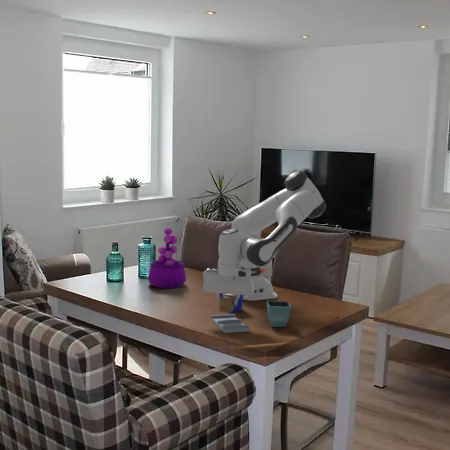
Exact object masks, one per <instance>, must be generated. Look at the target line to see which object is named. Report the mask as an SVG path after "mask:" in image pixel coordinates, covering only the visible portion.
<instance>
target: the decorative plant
mask: <svg viewBox="0 0 450 450" xmlns="http://www.w3.org/2000/svg"><path fill="white" fill-rule="evenodd" d="M163 233H164V234H165V236H164V237H163V241H164V242H165V246H159V247H158V249H157V251H158V253H159V256H158V258H157V259H158V260H153V261H151V262H150V266H149V267H150V268H149V271H148V275H147V281H148V282H149V284H150V285H151V286H153V287H155V288H159V289H164V290H165V289H167V290H169V288H170V289H175V288H178V287H181V286H183V285H184V284H185V283H186V282H187V274H186V271H185V264H184V262H183V261H180V260H176V259H175V258H174V257H173V255H174V254H176V253H177V251H178V248H177V247H176V246H175V244H176V243H177V242H178V237H177V236H176V235H175V234H173V230H172V228H171V227H166V228H164V231H163Z"/></svg>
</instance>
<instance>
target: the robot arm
mask: <svg viewBox="0 0 450 450" xmlns="http://www.w3.org/2000/svg"><path fill="white" fill-rule="evenodd" d="M308 176H309V175H307V174H306V173H305V172H304V171H302V170H297V171H294V172H291V173H290V174H289V175H288V176H287V177H286V179H285V180H284V185H285V188H284V189H282V190H279V191H278V192H276V193H274V194H273V195H271V196H269V197H268V198H266V199H265V200H263V201H261V202H260V203H258V204H256V205H254V206H253V207H251V208H249V209H247V210H246V211H244V212H243V213H240V214H239V215H237V216H236V217H234V219H233V221H232V223H231V228H229V229H225V230H223V231H222V232H221V233H220V235H219V239H218V260H217V268H213V269H211V268H207V269H204V270H203V272H202V277H203V283H202V291H204V293H213V294H215V297H216V298H217V304H218V305H220V293H222V294H224V293H225V294H236V297H237V299H236V300H234V301H233V305H237V300H238V299H239V297H240V295H243V301H244V300H245V301H250V302H252V301H253V302H254V301H263V300H271V299H277V298H278V294H277V292H274V288H273V284H272V283H271V282H270V280H268V279H267V278H266V277H265V276H263V275H262V274H264V273H266V269H265V268H263V267H264V266H267V265H268V264H269V263H271V261H272V259H273V258H274V256H275V255H276V253H277V251H278V250H279V248H281V247H282V246H283V245H284V244H285V243H286V241H287V240H288V239H290V237H291V236H292V235H293V234H294V233H295V232H296V230H297V228H298V226H299V225H300V224H302V222H303V221H304V220H306V218H307V219H316V218H318V217H320V216H321V215H322V214H323V213H325V211H326V209H327V204H326V202H325V199H323V197H322V195H321V192H320V191H319V190H318V188H317V187H316V185H315V184H314V183H313V182H312V180H311V179H310V178H309V177H308ZM275 223H277V225H278V226H277V227H276V228H275V229H274V230H273V231H272V232H271V233H270V234H269V235H268V236H267V237H266V238H262V239H261V236H262V231H263V230H264V229H266V228H268V227H269V226H271V225H273V224H275Z"/></svg>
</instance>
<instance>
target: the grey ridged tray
mask: <svg viewBox="0 0 450 450" xmlns="http://www.w3.org/2000/svg"><path fill="white" fill-rule="evenodd" d="M236 316H237V315H236V314H235V313H226V314H211V318H210V319H211V322H212V323H213V324H215V325H216V327H218V329H220V331H221V332H223V333H224V334H226V333H241V332H242V333H243V332H250V325H249V324H245V323H244V322H243V319H241V318H239V319H238V317H236Z"/></svg>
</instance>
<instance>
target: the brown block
mask: <svg viewBox="0 0 450 450" xmlns="http://www.w3.org/2000/svg"><path fill="white" fill-rule="evenodd" d="M234 300H236V294H225V293H222V296H221V297H220V304H219V313H226V314H232V312H234V311H233V309H234V308H235V305H233V301H234Z"/></svg>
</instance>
